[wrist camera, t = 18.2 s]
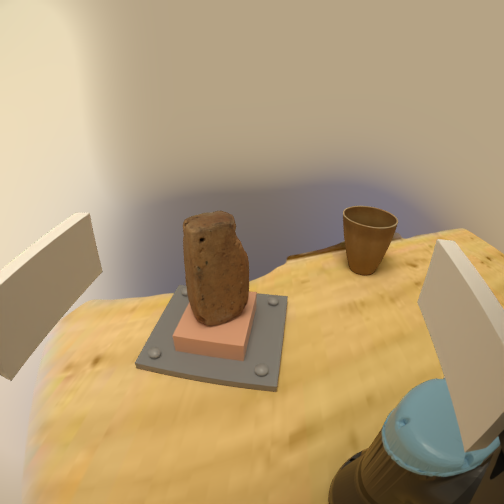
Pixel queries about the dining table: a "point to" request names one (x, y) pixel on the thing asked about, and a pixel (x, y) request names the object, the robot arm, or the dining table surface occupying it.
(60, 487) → the dining table surface
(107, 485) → the dining table surface
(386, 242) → the plant pot
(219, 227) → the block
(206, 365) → the tower base
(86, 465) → the dining table surface
